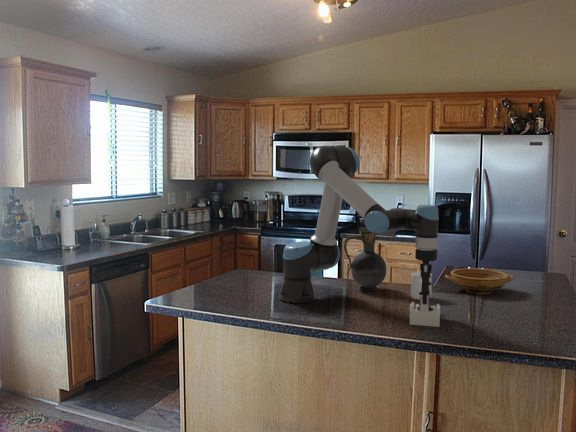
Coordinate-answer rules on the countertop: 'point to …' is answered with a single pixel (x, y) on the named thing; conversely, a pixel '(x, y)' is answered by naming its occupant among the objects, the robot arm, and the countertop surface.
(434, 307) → the clip
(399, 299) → the countertop surface
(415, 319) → the end holder
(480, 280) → the ceramic bowl
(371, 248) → the pitcher
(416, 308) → the clip
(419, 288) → the mug
